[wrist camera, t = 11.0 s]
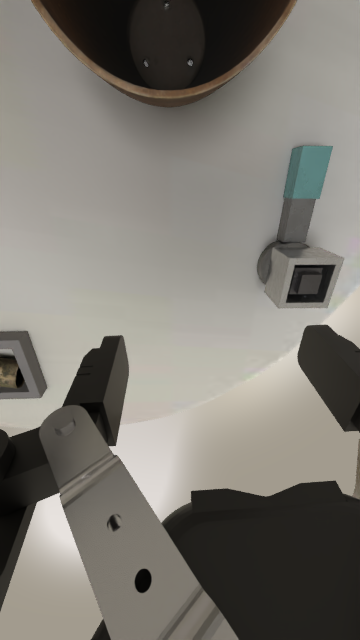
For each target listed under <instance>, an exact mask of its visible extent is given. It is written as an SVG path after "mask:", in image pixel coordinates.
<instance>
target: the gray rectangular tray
mask: <svg viewBox="0 0 360 640" xmlns="http://www.w3.org/2000/svg"><path fill="white" fill-rule="evenodd" d="M0 349H12V351H13V353H14V355H15V358H16V360H17V363H18V365H19V368H20V370H21V373H22V375H23V377H24V380H25V382H24V384H23V386H22V387H21V388H18V389H17V388H8V387H1V386H0V399H27V398H41V397H42V395H43V394H44V392H45V390H46V389H47V386H46V383H45V380H44V377H43V374H42V371H41V369H40V366H39V363H38V360H37V357H36V355H35V352H34V349H33V346H32V343H31V341H30V338H29V335H28V332H27V331H23V332H0Z"/></svg>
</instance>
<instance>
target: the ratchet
mask: <svg viewBox="0 0 360 640" xmlns="http://www.w3.org/2000/svg"><path fill="white" fill-rule="evenodd" d="M332 148H333V146H301V147H297V148H294V149H292V154H291V160H290V165H289V170H288V175H287V181H286V186H285V191H284V196H283V197H284V198H285V199H284V204H283V210H282V215H281V220H280V225H279V230H278V235H277V239H278V241H275V242H273V243H272V244H270V245H269V246H268V247H267V248H266V249H265V250H264V251H263V252H262V254H261V255H260V257H259V260H258V264H257V272H258V276H259V278H260V279H261V281H262V282H263V283H264V284H265V285H266V280H267V275H268V270H269V265H270V259H271V254H272V249H273V248H310V247H309V246H307V245H305V244H302V243H300V242H305V240H306V236H307V232H308V228H309V224H310V220H311V216H312V212H313V208H314V204H315V200H316V199H320V195H321V191H322V187H323V183H324V179H325V175H326V171H327V167H328V163H329V160H330V156H331V152H332ZM322 270H323V268H322V267H320V266H318V265H295V266H294V270H293V274H292V279H291V283H290V287H289V291H288V293H289V294H317V292H318V289H319V285H320V282H321V279H322V276H323V275H322V274H321V273H322Z"/></svg>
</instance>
